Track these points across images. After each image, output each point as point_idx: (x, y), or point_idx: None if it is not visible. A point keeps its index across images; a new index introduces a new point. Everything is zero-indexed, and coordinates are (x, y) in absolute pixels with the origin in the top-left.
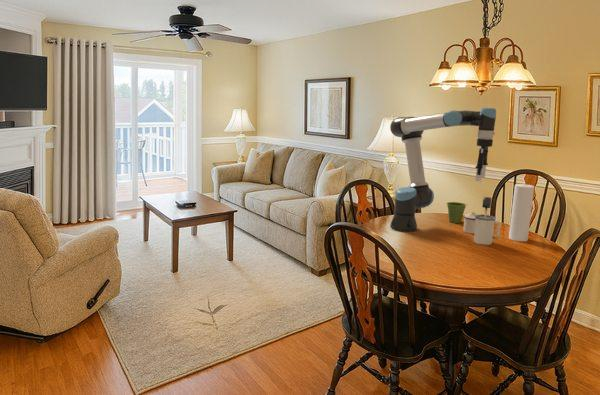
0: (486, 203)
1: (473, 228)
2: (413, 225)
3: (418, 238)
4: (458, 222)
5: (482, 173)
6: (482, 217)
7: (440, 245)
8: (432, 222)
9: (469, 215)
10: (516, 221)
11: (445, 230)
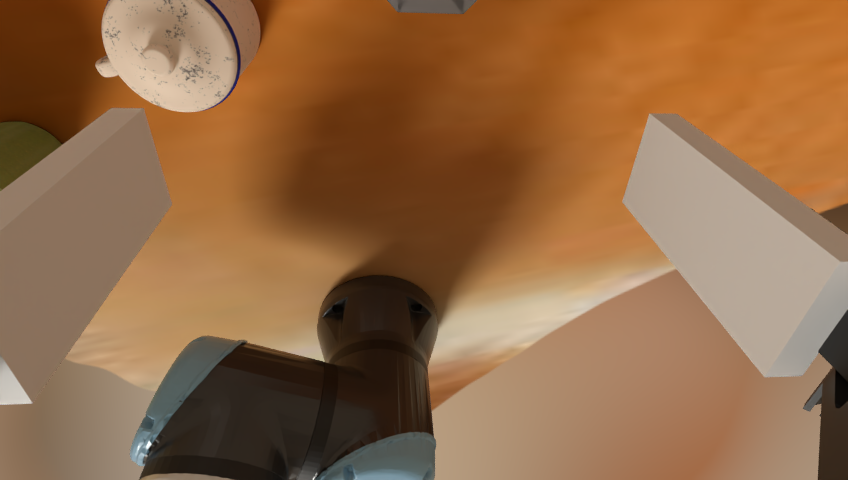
0: None
1: (245, 11)
2: (403, 300)
3: (512, 238)
4: (47, 132)
5: (123, 196)
6: None
7: (593, 133)
8: (168, 250)
9: (202, 77)
10: None
11: (287, 165)
